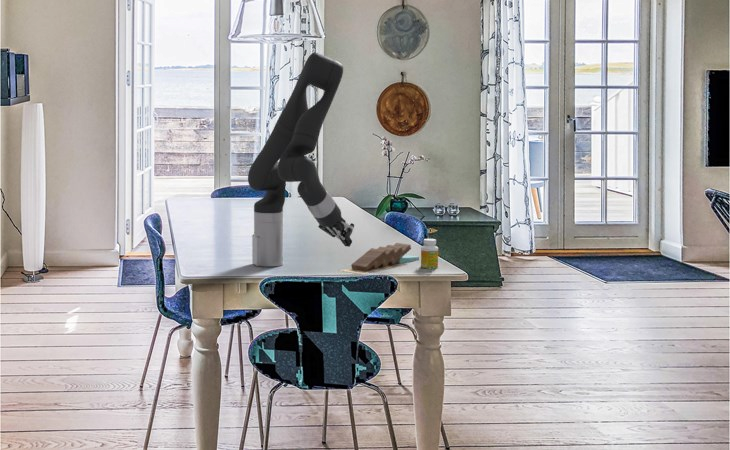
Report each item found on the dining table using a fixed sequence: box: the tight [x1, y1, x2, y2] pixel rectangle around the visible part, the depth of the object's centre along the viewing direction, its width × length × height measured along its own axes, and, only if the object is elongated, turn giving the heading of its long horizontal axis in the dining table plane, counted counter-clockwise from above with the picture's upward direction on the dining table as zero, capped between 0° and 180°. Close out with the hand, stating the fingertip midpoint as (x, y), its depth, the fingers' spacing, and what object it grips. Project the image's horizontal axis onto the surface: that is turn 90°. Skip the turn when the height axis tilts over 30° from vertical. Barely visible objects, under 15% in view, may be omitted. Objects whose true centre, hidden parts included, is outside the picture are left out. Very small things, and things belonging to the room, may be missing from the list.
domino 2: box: [370, 246, 395, 269], centre depth 269 cm, size 2×6×11 cm
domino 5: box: [396, 254, 420, 264], centre depth 280 cm, size 2×6×11 cm
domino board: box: [338, 263, 406, 275], centre depth 268 cm, size 24×9×1 cm, turn 142°
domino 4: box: [388, 242, 412, 265], centre depth 276 cm, size 2×6×11 cm
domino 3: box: [379, 244, 403, 268], centre depth 273 cm, size 2×6×11 cm
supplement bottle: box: [420, 238, 439, 270], centre depth 269 cm, size 5×5×10 cm
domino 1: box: [351, 248, 387, 272], centre depth 266 cm, size 2×6×11 cm
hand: (348, 244), depth 257 cm, fingers closed
